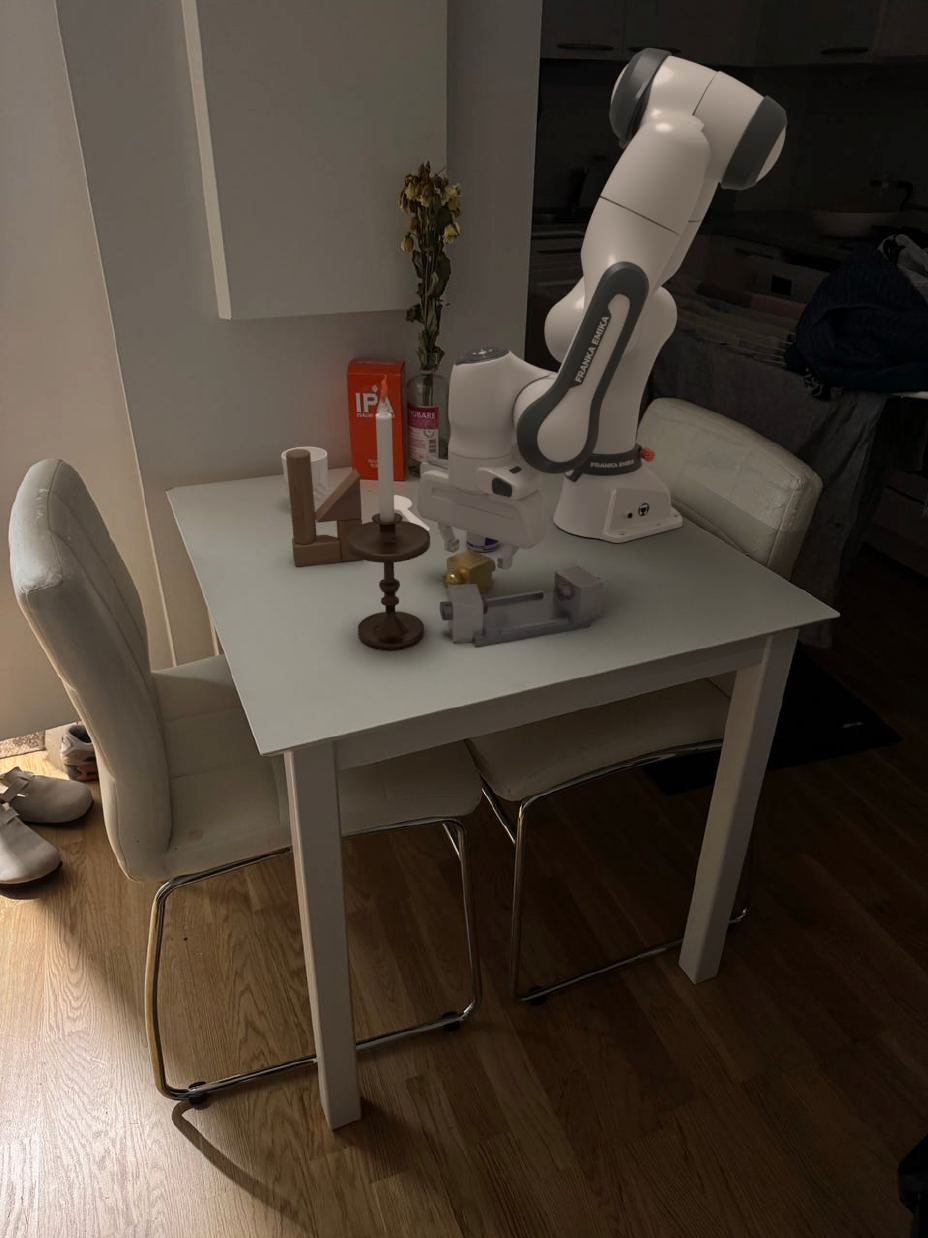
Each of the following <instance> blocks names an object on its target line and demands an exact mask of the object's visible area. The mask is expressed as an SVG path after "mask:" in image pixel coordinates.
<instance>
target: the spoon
mask: <svg viewBox="0 0 928 1238" xmlns="http://www.w3.org/2000/svg"><path fill="white" fill-rule="evenodd" d="M412 506H413V502H412V501H411V499H409V498H408V497H406V496H403V495H398V494H394V511H399V512H401V513H402V516H403V517H404V518H405V519H406V520H407V522H411V523H415V524H417V525H420V526H422V527H424V528H425V529H426V530H427V531H428V532H429V533H430V530H431V528H430V526H428V525H427V524H425V522H423V521H422V520H421V519H420V518H418V517H417V516H416V515H414V513H413V512H411V510H409V509H410V508H411V507H412Z"/></svg>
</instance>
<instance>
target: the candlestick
mask: <svg viewBox="0 0 928 1238" xmlns="http://www.w3.org/2000/svg"><path fill="white" fill-rule="evenodd" d="M380 383H381V388H382V389H380V396H379V399H380V401H381V402H380V408H379V411H378V412H377V413H375V426H376V427H375V428H376V449H377V452H376V453H377V455H376V456H377V474H378V475H377V476H378V478H377V479H378V480H377V481H378V501H379V502H378V504H379V507H378V508H379V513H376V514H374V515H372V516H371V521H369V522H363V523H362V524H361V525H359V526H356V527H354V528H353V529H351V530H350V531H349V532H348V533H347V535H346V548H347V551H348V552H349V553H350V554H352V555H353V556H355V557H357V558H359V559H362V560H363V561H365V562H373V563H380V564H381V563H382V564H383V575H384V577H383V578H382V579H381V580H380V581H379V582H378V587H379V589H380V592H382V593H383V596H382V597H381V599H380V603H381V605H383V606H384V608H385V611H381V612H377V613H373V614H371V615H369V616H367V617H365V618H364V619H362V620H361V621H360V622H359V623H358V625H357V636H358V639H359V641H360V642H361V643H362V644H363V645H365V647H366V646H367V647H369V648H372V649H374V650H379V651H386V652H387V651H388V652H389V651H401V650H405V649H409V648H411V647H413V646H416V644H418V643H420V642H421V641H422V640H423V638H424V635H425V624H424V622H423V621H422V620H421V619H420V618H419V617H418V616H416V615H414V614H411V613H408V612H404V611H396V606H397V605H399V603H400V598H399V597H398V596H397V595H396V593H397V592H398V591H399V589H400V587H401V582H400V580H399V579H397V578H395V563H400V562H401V563H402V562H404V561H405V562H406V561H410V560H412V559H413V560H414V559H416V558H418V557H420V556H422V555H424V554H425V553H427V552H428V550H429V549H430V547H431V535H430V531H429V532H428V531H427V530H426V529H425V528H424V527H422V526H420V525H417V524H415V523H411V522H409V521H408V520H407V521H406V520H403V519H404V516H403V515H401V514H400V513H398V512H395V510H394V495H395V490H394V488H395V487H394V460H393V459H394V458H393V456H394V455H393V453H394V452H393V421H392V419H393V418H392V413H391V412H389V411H388V408H387V405H386V404H387V403H386V399H387V396H388V389H389V388H388V385H387V384H388V383H387V375H386V374H385V375H384V378H383V380H382V381H381V382H380ZM362 560H361V561H362Z"/></svg>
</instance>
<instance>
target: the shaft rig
mask: <svg viewBox="0 0 928 1238" xmlns="http://www.w3.org/2000/svg"><path fill="white" fill-rule="evenodd" d="M604 587H605V581H604V580H602V579H601V578H600V577H599V576H595V575H594V574H592V573H590V572H589V571H587V570H586V569H584V568H583V567H581V566H579V565H573V566H570V567H567V568H563V569H560V570H556V571H554V583H553V591H551V592H545V593H544V591H543V590H542V589H541V590H533V591H529V592H528V591H527V592H521V593H517V594H515V593H514V594H510V595H509V594H508V595H504V596H503V595H502V596H498V597H491V598H486V596H485V595H483V594H482V595H481V593H479V590H478V586H477V584H465V585H448V590H447V600H444V601H443V600H442V601H440V602H439V613H440V617H441V620H442V621H444V622H446V621H447V623H448V627H449V628H448V629H449V633H450V636H451V640H452V643H453V644H454V643H455V644H459V643H471V642H472V644H473V645H474V646H475V647H476V648H477V647H479V648H480V647H484V646H489V645H490V646H491V645H495V644H500V643H501V644H502V643H507V642H512V641H517V640H523V639H527V638H528V639H529V638H536V637H539V636H540V637H541V636H546V635H550V634H551V635H552V634H557V633H562V632H567V631H575V630H580V629H585V628H586V629H587V628H590V627H592V625H591V624H592V621H593V620H595V619H599V618H601V617H602V606H603V600H604V599H603V598H604V590H605V589H604Z"/></svg>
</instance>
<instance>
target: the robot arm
mask: <svg viewBox="0 0 928 1238" xmlns="http://www.w3.org/2000/svg"><path fill="white" fill-rule="evenodd" d="M608 114H609V115H608V116H609V122H610V125H611V128H612V132H613V133H614V134H615V135H616V136H617V138H618V139H619V141H618V142H619V143H618V145H619V147H620V148H621V149H622V150H623V149H624V151H623V153H622V154H621V156H620V158H619V160H618V161H617V163H616V165H615V166H614V168H613V170H612V171H611V174H610V175H609V178H608V180H607V181H606V184H605V185H604V187H603V189H602V192H601V193H600V197H599V198H598V200H597V202H596V205H595V206H594V209H593V212H592V214H591V217H590V219H589V222H588V225H587V228H586V231H585V235H584V238H583V243H582V245H581V246H582V247H581V250H580V258H581V260H580V261H581V267H582V274H583V276H582V277H581V278H580V280H579V281H578V282H577V283H576V285H575V286H574V287H573V288H572V290H570V292H569V293H568V294H566V296H564V297H563V298H562V299H561V300H559V301H558V302H556V304H554V306H552V308H551V309H550V310H549V312H548V313H547V316H546V318H545V322H544V339H545V344H546V346H547V349H548V351H549V353H550V354H551V355H552V357H553V358H554V359H555V360H557V362H559V363H561V365H560V368H559V370H558V372H555V371H550V370H548V369H544V368H540V367H538V366H535V365H533V364H530V363H528V362H526V361H525V360H523V359H522V358H519V356H517V355H515V354H514V353H513V352H512V351H511V350H510V349H508V348H506V347H502V346H492V345H490V346H484V347H483V346H482V347H479V348H478V347H477V348H475V349H471V350H469V351H467V352H464V353H463V354H462V355H460V356H459V357H458V358H457V359H456V361H455V362H454V363H453V366H452V369H451V374H450V380H449V389H448V391H449V392H448V412H447V413H448V416H447V417H448V421H449V425H450V430H451V431H450V439H449V441H448V445H447V446H448V448H447V449H448V450H447V452H448V454H447V455H448V457H447V458H448V459H443V458H439V457H437V456H434V455H432V456H428V458H424V459H423V460H422V461H421V463H420V468H419V469H420V470H419V473H420V476H419V477H420V479H419V485H418V491H417V500H416V501H417V502H416V510H417V512H418V513H419V516H420V517H421V518H423V519H427V520H429V521H433V522H435V523H437V529H438V531H439V533H440V535H441V537H442V540H443V541H444V551H446V552H450V553H452V554H453V553H456V552H458V551H459V550H460V538H458V537H456V536H455V533H454V531H453V528H455V529H459V530H461V531H465V532H466V531H468V532H471V533H474V534H478V535H481V536H484V537H487V538H491V539H494V540H497V541H499V543H503V548H504V549H505V550H506V552H505V553H502V554H501V555H499V556H497V559H496V560H497V563H496V564H497V565H496V566H497V568H498V569H501V570H504V571H508V570H510V569H511V568H512V566H513V557H514V556H515V554H516V553H517V552H518V550H519V549H523V550H530V549H532V548H534V547H535V546H537V545H539V544H540V543H541V542H542V541H543V540H544V537H545V533H546V506H545V505H546V504H545V499H544V496H543V495H542V493H541V492H540V491H539V489H541V488H542V487H543V485H544V476H543V473H545V474H553V475H554V474H556V475H558V474H563V475H564V476H563V483H562V489H561V492H560V496H559V499H558V500H559V501H558V503H557V506H556V509H555V512H554V514H553V517H552V521H553V523H554V524H555V525H556V526H557V527H558V528H560V529H561V530H562V531H565V532H566V533H570V534H573V535H575V536H576V535H577V536H581V537H585V538H594V539H600V540H603V541H607V542H611V543H615V544H620V543H624V542H629V541H632V540H636V539H641V538H644V537H649V536H652V535H656V534H659V533H663V532H666V531H667V532H668V531H671V530H674V529H678V528H681V527H683V517H682V514H681V513H680V512H679V511H678V510H677V509H676V508H674V507H673V506H672V497H671V493H670V490H669V488H668V486H667V484H666V483H665V482H664V481H663V480H662V479H660V478H659V477H658V476H657V475H656V474H655V473H654V472H653V471H651V470H650V469H649V468H648V467H646V466H645V465H643V461H642V459H643V460H644V461H645V462H648V463H651V462H652V461H654V459H655V458H656V452H655V451H654V450H653V449H650V448H649V446H647V447H646V446H645V447H643V445H641V444H639V443H637V442H636V438H637V429H638V423H639V422H638V421H639V415H640V414H639V413H640V407H641V403H642V398H643V394H644V390H645V388H646V386H647V385H646V384H647V382H648V380H649V376H650V374H651V371H652V369H653V366H654V364H655V362H656V358H657V357H658V355H659V353H660V351H661V349H662V347H663V346H664V345H665V343H666V341H668V339H669V338H670V337H671V335H672V334H673V333H674V331H675V329H676V328H675V327H676V325H677V320H678V311H677V309H678V308H677V305H676V302H675V299H674V298H673V296H672V295H671V293H670V292H669V291H668V290H667V289H666V288H665V287H662V286H663V284H664V283H666V282H667V281H668V280H670V279H671V277H673V276H674V275H675V274H676V272H677V271H678V270H679V268H680V267H681V265H682V263H683V261H684V259H685V257H686V254H687V253H688V251H689V249H690V247H691V245H692V243H693V241H694V239H695V236H696V234H697V232H698V230H699V228H700V226H701V224H702V222H703V220H704V218H705V216H706V214H707V211H708V209H709V207H710V205H711V203H712V200H713V197H714V195H715V192H716V190H717V188H718V184H719V183H720V187H721V188H722V189H723V190H727V189H729V190H736V191H743V190H747V189H749V188H752V187H754V186H755V185H757V182H758V181H760V180H761V179H762V178H764V177H765V176H766V175H767V174H768V173H769V171H770V170H771V169H772V168H773V166H774V165H775V163H777V161H778V159H779V156H780V155H781V152H782V149H783V146H784V143H785V140H786V139H785V137H786V127H787V125H788V119H787V113H786V110H785V109H784V108H783V107H782V106H781V105H780V104H779V103H777V102H776V100H774V99H773V98H772V97H770V96H769V95H765V96H762V95H761V94H760V93H758V92H757V91H755V90H754V89H753V88H751V87H750V86H748V85H746V84H745V83H743V82H741V81H739V80H738V79H736V78H734V77H733V76H730V75H729V74H726V73H725V72H724V71H720V70H719V71H716V70H715V69H714V70H713V69H712V68H709V67H707V66H704V65H701V64H698V62H693V61H690V60H687V59H685V58H680V57H677V56H672V52H671V51H668V50H664V49H659V48H653V47H646V48H644V49H642V50H641V51H639V52H637V53H636V54H634V55H633V57H632V58H631V59H630V61H629V63H628V64H626V66H625V67H623V69H622V71H621V73H620V74H619V75H618V78H617V80H616V81H615V84H614V88H613V90H612V95H611V100H610V109H609V113H608ZM516 444H517V448H518V451H519V454H520V456H521V457H522V458H523V460H521V459H520V458H519V457H518V456H516V455H515V454H513V448H514V447H513V446H514V445H516ZM524 461H525V462H524Z"/></svg>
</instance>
